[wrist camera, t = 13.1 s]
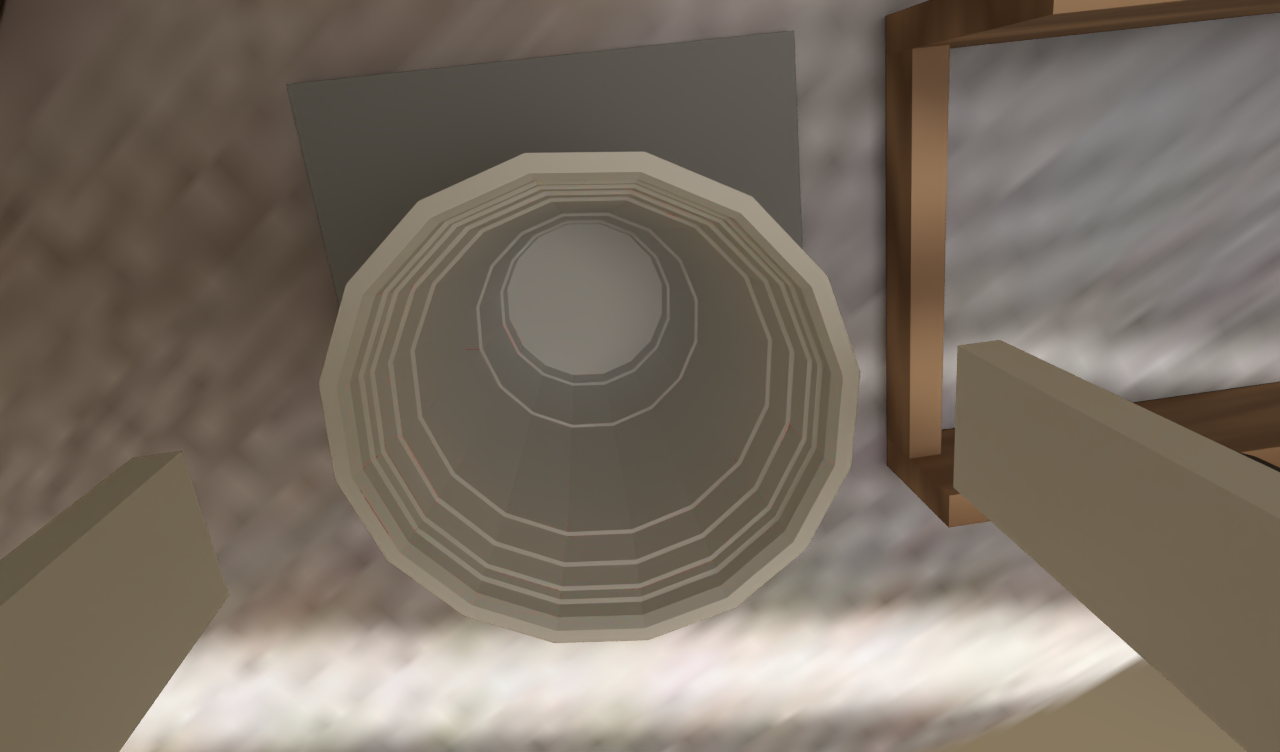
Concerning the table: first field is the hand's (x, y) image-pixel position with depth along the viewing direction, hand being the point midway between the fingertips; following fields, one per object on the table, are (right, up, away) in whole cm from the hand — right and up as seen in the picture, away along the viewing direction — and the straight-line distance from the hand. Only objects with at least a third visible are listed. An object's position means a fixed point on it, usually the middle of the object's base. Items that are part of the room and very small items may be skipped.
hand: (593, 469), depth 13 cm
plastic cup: (-1, +4, +13) cm, 14 cm away
